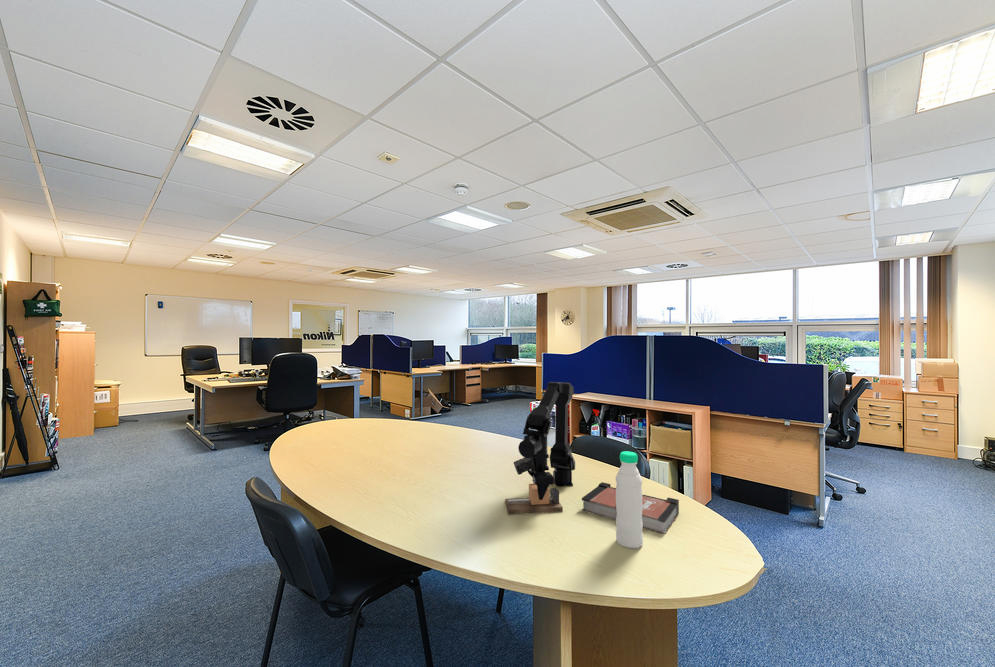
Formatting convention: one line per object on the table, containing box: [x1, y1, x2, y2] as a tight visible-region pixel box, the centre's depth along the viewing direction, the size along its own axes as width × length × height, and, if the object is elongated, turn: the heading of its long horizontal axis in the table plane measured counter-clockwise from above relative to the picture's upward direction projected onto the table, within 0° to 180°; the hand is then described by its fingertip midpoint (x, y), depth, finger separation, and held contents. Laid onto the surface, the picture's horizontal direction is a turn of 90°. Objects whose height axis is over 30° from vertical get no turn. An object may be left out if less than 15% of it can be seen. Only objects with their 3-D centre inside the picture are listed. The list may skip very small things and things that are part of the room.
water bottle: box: [615, 450, 644, 549], centre depth 110 cm, size 7×7×25 cm
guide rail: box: [508, 487, 560, 505], centre depth 133 cm, size 17×4×4 cm, turn 96°
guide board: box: [504, 496, 564, 515], centre depth 133 cm, size 18×9×2 cm, turn 96°
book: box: [581, 481, 680, 535], centre depth 129 cm, size 26×18×5 cm
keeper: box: [528, 483, 550, 505], centre depth 133 cm, size 6×5×5 cm
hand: (539, 496), depth 133 cm, fingers closed on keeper, 5 cm apart
